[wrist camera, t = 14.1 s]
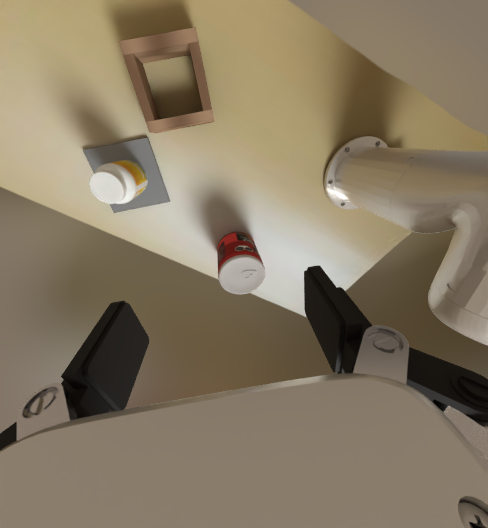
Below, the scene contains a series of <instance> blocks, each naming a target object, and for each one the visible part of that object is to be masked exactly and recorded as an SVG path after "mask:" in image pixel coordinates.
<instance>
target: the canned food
mask: <svg viewBox="0 0 488 528" xmlns="http://www.w3.org/2000/svg"><path fill="white" fill-rule="evenodd" d="M217 252H218V278H219V282H220V284H221V285H222V287H223V288H224V289H225V290H226V291H228V292H230V293H233V294H246V293H249V292H252V291H254V290H256V289H257V288H258V287H259V286H260V285H261V284H262V282H263V281H264V278H265V268H264V265H263V263H262V260H261V258H260V255H259V253H258V250H257V248H256V246H255V243H254V241H253V240H252V238H251V237H250V236H248V235H246V234H244V233H240V232H234V233H230V234H228V235H226V236H225V237H224V238H223V239H222V240H221V241H220V243H219V245H218V249H217Z"/></svg>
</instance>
